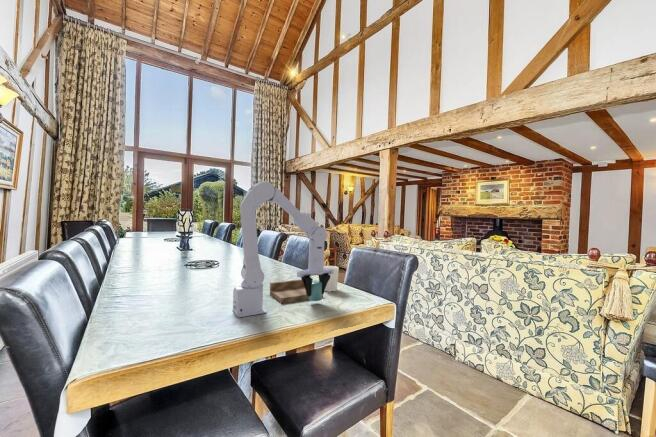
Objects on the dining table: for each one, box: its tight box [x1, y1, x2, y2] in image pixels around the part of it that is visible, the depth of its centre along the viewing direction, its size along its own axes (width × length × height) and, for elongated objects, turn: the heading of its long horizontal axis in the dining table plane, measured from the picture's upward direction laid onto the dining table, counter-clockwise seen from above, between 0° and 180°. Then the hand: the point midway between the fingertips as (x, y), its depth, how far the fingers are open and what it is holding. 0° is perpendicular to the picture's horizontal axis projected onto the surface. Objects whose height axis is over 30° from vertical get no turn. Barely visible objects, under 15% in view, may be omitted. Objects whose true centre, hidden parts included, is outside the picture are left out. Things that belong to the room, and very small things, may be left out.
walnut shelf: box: [269, 279, 324, 304], centre depth 115 cm, size 18×12×5 cm, turn 122°
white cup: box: [324, 265, 340, 293], centre depth 125 cm, size 8×8×10 cm
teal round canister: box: [308, 280, 323, 302], centre depth 106 cm, size 5×5×6 cm
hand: (315, 294), depth 106 cm, fingers closed on teal round canister, 5 cm apart
